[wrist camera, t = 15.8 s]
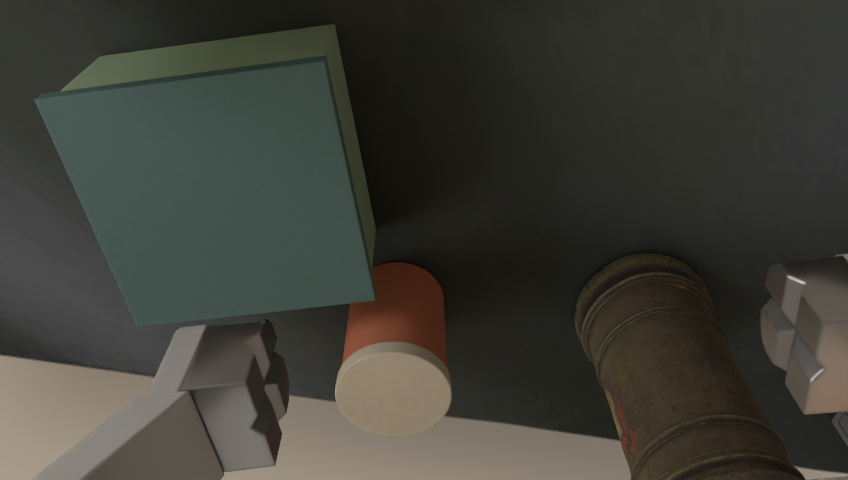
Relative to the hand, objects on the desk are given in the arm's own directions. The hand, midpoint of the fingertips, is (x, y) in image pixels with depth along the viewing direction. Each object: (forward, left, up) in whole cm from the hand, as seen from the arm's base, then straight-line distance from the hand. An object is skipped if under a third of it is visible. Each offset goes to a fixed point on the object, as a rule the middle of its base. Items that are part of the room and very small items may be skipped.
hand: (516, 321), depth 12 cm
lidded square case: (+13, +9, -29) cm, 33 cm away
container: (-10, +24, -29) cm, 39 cm away
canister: (+6, +21, -29) cm, 36 cm away
